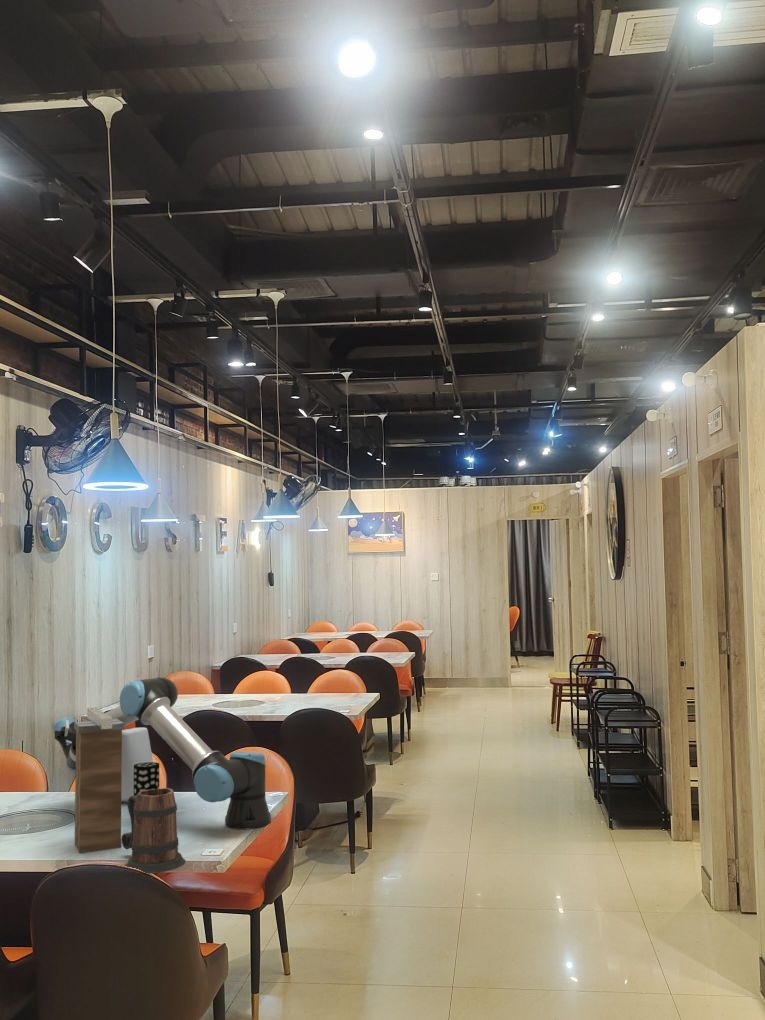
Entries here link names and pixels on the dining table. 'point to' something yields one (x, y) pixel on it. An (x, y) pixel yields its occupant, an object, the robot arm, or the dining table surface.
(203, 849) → the dining table surface
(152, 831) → the tankard
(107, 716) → the bar
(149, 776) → the white-spotted black cylinder
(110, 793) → the column
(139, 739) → the plastic bottle
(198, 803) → the dining table surface
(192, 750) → the robot arm
